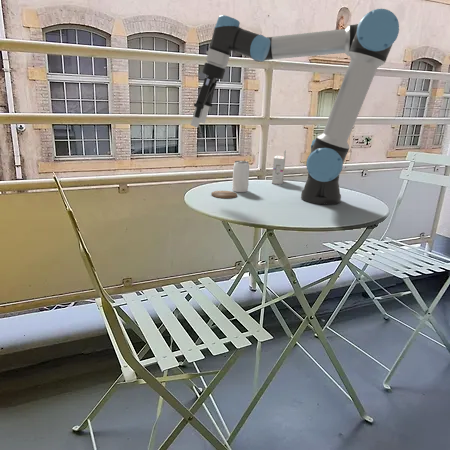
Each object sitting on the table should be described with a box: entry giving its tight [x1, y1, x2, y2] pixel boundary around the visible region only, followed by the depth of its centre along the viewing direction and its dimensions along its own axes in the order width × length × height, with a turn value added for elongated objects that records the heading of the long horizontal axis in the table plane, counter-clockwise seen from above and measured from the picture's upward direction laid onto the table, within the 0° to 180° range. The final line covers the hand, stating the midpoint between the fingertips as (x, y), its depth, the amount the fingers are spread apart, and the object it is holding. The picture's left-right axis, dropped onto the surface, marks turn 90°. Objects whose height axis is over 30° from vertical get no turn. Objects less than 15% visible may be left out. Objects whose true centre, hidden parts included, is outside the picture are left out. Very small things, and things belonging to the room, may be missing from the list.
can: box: [231, 160, 250, 194], centre depth 160 cm, size 6×6×12 cm
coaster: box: [211, 190, 238, 199], centre depth 153 cm, size 10×10×1 cm
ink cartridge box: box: [271, 149, 287, 185], centre depth 179 cm, size 9×5×15 cm, turn 168°
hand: (197, 124), depth 144 cm, fingers open, 13 cm apart
